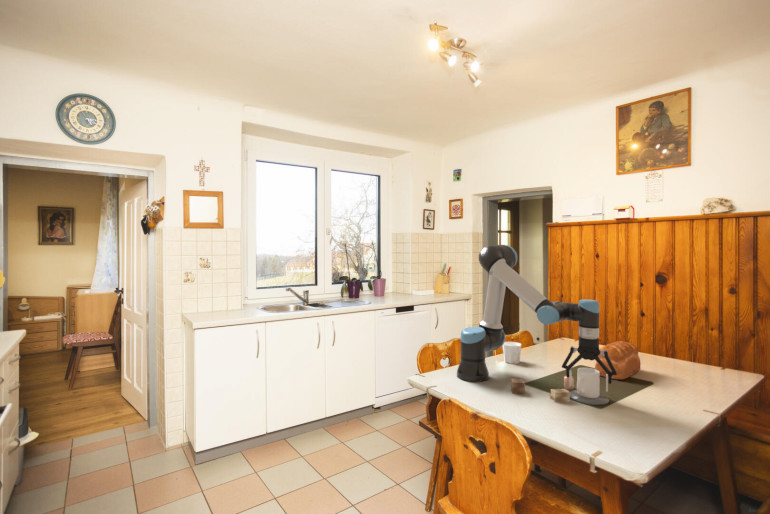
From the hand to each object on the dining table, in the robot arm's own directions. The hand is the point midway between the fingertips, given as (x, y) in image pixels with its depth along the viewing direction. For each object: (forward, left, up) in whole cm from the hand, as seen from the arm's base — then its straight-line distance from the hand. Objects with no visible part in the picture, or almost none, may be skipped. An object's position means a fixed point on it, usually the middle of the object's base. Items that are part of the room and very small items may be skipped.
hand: (588, 388), depth 162 cm
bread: (+12, +45, -5) cm, 47 cm away
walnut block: (-27, -7, -4) cm, 28 cm away
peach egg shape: (-8, +9, -4) cm, 13 cm away
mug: (-1, 0, -4) cm, 4 cm away
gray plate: (0, 0, -4) cm, 4 cm away
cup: (-39, +39, -4) cm, 55 cm away
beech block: (-10, -8, -4) cm, 14 cm away
